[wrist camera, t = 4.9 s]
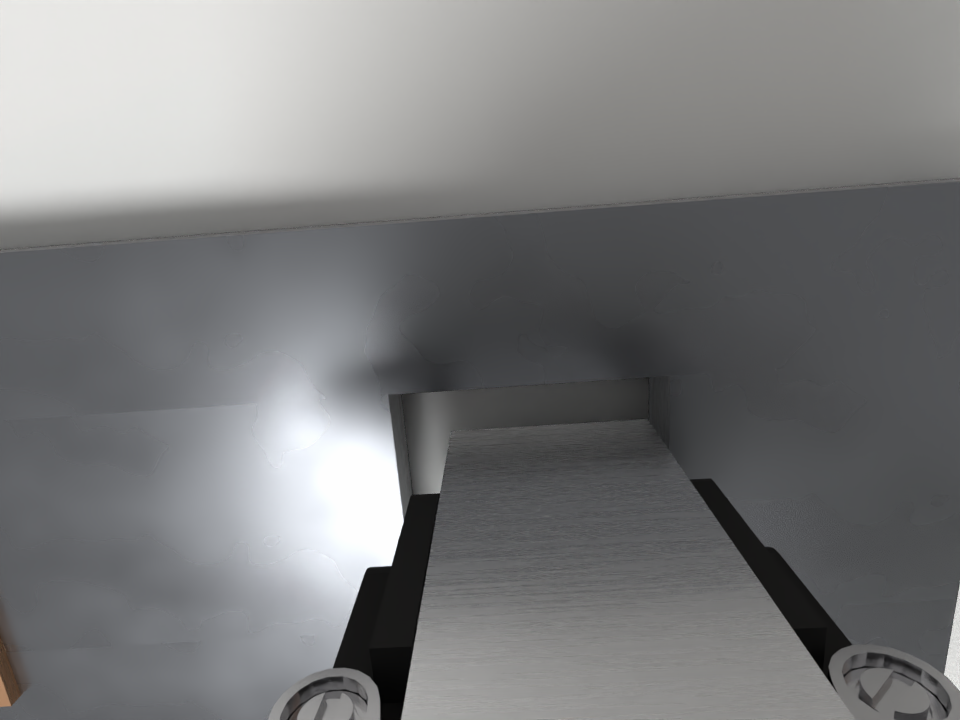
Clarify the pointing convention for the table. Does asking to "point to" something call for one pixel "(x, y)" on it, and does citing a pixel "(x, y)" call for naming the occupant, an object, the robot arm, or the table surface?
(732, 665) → the steel rectangular block
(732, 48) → the table surface
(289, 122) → the table surface
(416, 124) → the table surface
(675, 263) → the grey board with holes
